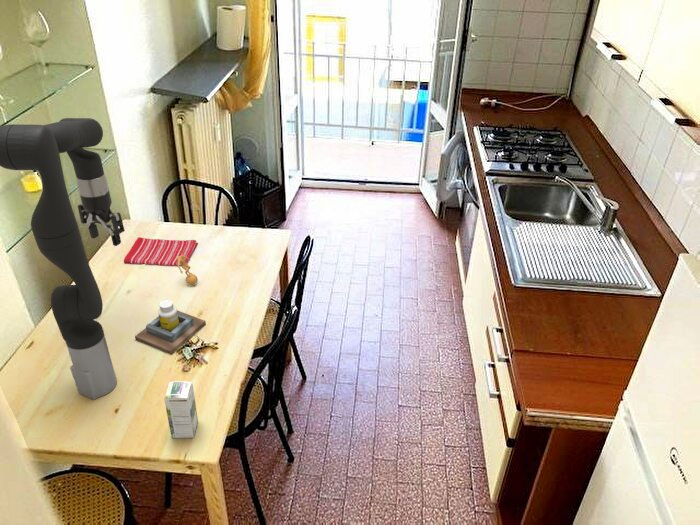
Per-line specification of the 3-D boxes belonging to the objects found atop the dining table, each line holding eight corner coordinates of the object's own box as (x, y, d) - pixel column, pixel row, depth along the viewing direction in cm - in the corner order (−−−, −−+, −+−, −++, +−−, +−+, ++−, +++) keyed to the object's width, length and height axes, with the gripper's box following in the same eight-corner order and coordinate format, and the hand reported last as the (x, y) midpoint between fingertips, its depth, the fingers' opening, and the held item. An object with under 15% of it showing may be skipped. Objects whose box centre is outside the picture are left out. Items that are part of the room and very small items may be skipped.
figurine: (194, 291, 194) (189, 262, 188) (177, 290, 195) (172, 261, 188) (201, 278, 201) (197, 249, 195) (185, 276, 202) (180, 248, 195)
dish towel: (139, 241, 222) (137, 235, 221) (198, 244, 222) (198, 238, 220) (122, 265, 208) (121, 259, 206) (186, 268, 207) (185, 262, 206)
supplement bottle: (158, 328, 175) (153, 303, 170) (173, 320, 179) (169, 295, 173) (167, 336, 172) (163, 311, 167) (183, 328, 176) (179, 303, 170)
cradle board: (171, 354, 168) (169, 344, 166) (135, 340, 173) (133, 329, 171) (205, 324, 180) (204, 314, 178) (171, 311, 185) (169, 301, 183)
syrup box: (176, 421, 147) (167, 380, 139) (199, 420, 147) (192, 380, 139) (171, 438, 142) (162, 398, 134) (195, 438, 143) (188, 397, 135)
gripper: (63, 189, 154) (77, 240, 163) (102, 201, 149) (114, 253, 158) (85, 179, 160) (98, 229, 169) (123, 190, 155) (134, 241, 164)
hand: (106, 240), depth 163 cm, fingers open, 8 cm apart
